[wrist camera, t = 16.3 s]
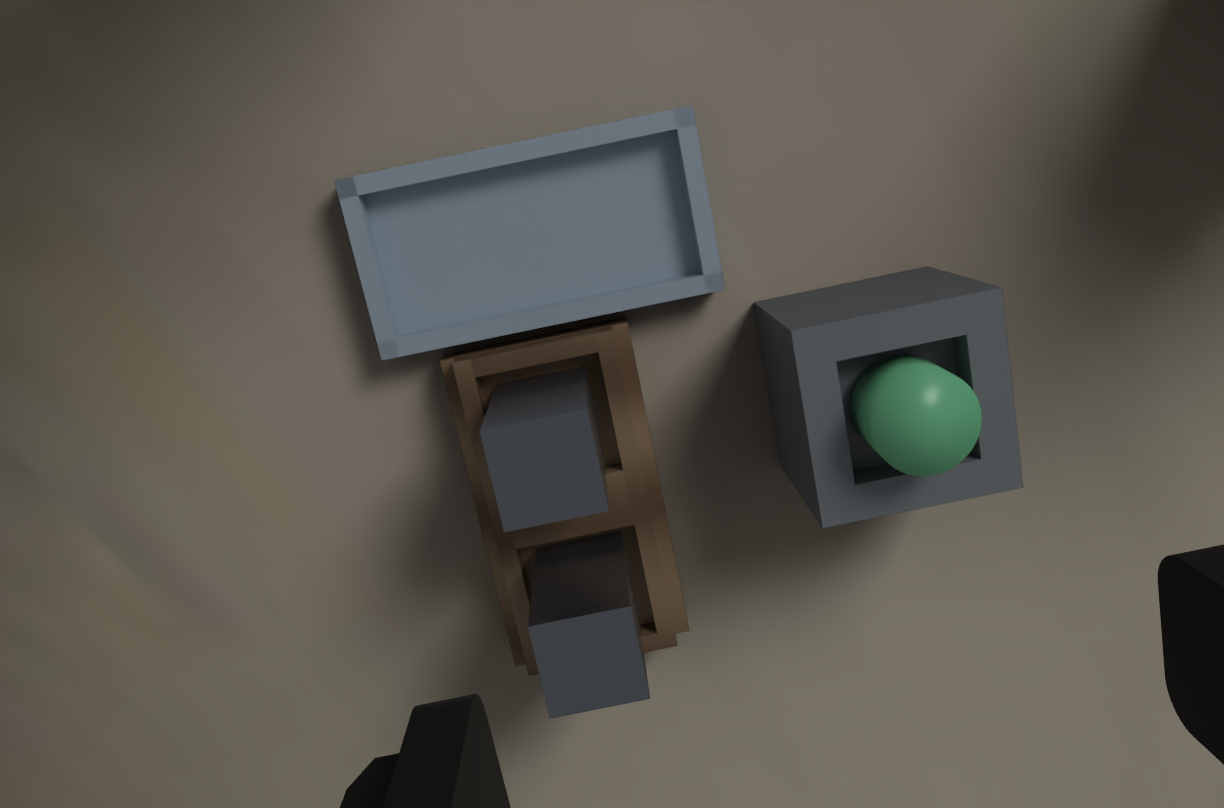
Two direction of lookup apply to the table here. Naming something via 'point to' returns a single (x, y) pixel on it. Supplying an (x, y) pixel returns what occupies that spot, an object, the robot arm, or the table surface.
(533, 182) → the tray
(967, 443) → the button
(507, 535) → the tray
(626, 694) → the block
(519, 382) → the seated billet
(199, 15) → the table surface
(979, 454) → the grey cube holder
